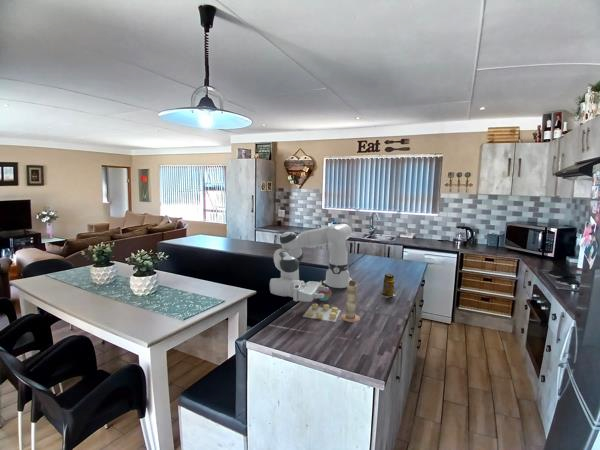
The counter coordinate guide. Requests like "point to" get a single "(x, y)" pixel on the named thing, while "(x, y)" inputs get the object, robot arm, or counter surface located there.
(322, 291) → the cupcake
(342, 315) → the coaster
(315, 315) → the mat
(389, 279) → the condiment
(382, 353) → the counter surface
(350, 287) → the pepper mill
